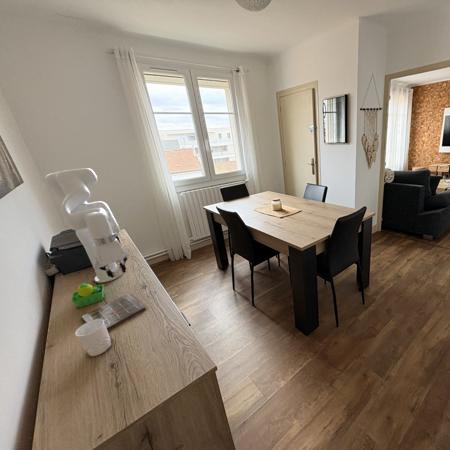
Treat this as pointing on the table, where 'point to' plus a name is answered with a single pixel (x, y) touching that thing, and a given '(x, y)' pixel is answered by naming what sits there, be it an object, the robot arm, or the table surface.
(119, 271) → the white round puck
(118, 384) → the table surface
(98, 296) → the fruit basket
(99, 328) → the white cup
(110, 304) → the board
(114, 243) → the robot arm
